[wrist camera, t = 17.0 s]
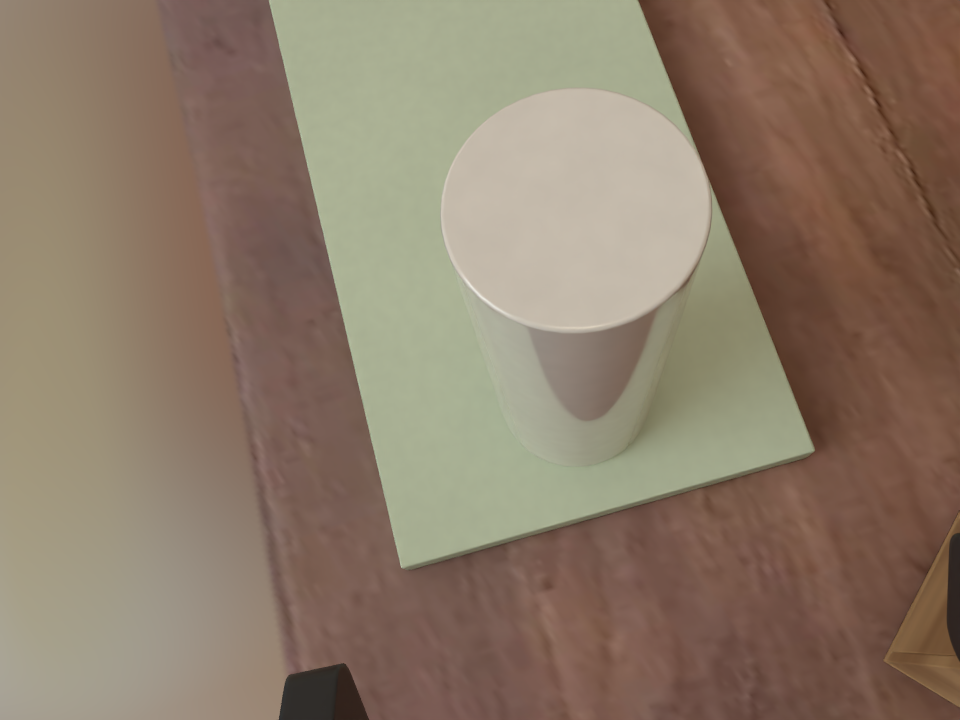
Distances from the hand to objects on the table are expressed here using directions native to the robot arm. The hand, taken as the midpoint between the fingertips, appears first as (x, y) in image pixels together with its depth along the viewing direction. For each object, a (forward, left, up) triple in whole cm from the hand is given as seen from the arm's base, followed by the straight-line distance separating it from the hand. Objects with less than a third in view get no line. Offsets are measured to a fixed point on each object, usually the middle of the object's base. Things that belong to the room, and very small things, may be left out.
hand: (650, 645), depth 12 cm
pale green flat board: (+16, +17, -14) cm, 27 cm away
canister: (+5, +4, -13) cm, 14 cm away
